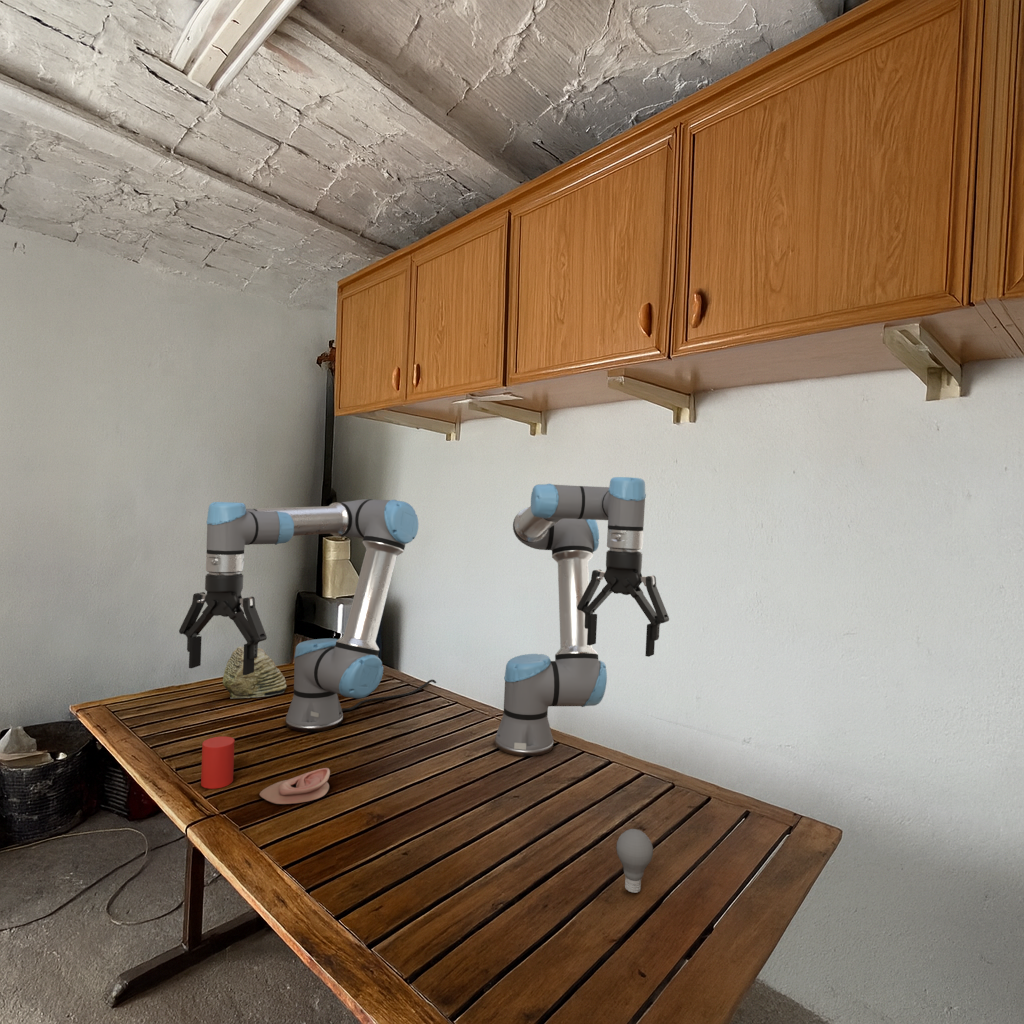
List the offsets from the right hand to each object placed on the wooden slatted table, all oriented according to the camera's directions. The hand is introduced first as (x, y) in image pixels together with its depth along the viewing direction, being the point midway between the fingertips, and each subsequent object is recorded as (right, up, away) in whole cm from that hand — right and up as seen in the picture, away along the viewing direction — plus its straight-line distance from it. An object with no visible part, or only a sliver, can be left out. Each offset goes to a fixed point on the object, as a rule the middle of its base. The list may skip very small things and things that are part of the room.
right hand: (619, 649), depth 135 cm
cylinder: (-87, -30, +4) cm, 92 cm away
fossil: (-104, -28, +63) cm, 125 cm away
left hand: (-86, -5, +3) cm, 87 cm away
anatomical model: (-69, -31, 0) cm, 76 cm away
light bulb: (-3, -34, -29) cm, 45 cm away
